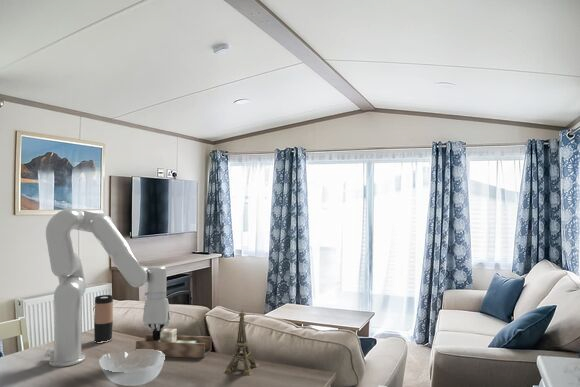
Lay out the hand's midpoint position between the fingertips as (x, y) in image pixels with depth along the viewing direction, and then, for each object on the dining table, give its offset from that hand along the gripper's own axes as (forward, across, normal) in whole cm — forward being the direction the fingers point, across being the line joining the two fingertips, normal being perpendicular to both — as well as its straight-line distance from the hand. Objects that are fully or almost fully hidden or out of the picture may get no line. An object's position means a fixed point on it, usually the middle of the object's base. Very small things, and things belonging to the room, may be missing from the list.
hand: (156, 339), depth 171 cm
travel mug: (+5, -30, +11) cm, 33 cm away
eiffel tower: (+6, +40, -14) cm, 43 cm away
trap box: (+5, +8, 0) cm, 9 cm away
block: (+1, +5, 0) cm, 5 cm away
